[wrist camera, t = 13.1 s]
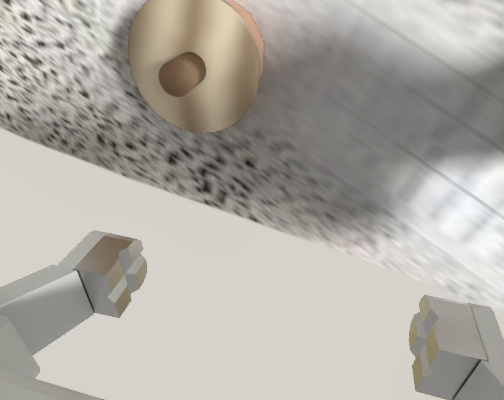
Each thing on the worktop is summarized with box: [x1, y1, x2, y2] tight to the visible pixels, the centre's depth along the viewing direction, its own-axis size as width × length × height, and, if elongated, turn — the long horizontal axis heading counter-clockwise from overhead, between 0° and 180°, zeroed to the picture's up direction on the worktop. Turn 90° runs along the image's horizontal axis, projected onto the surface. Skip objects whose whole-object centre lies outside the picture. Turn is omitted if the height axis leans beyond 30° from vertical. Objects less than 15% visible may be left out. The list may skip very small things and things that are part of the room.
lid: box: [128, 0, 261, 133], centre depth 34 cm, size 14×14×5 cm
